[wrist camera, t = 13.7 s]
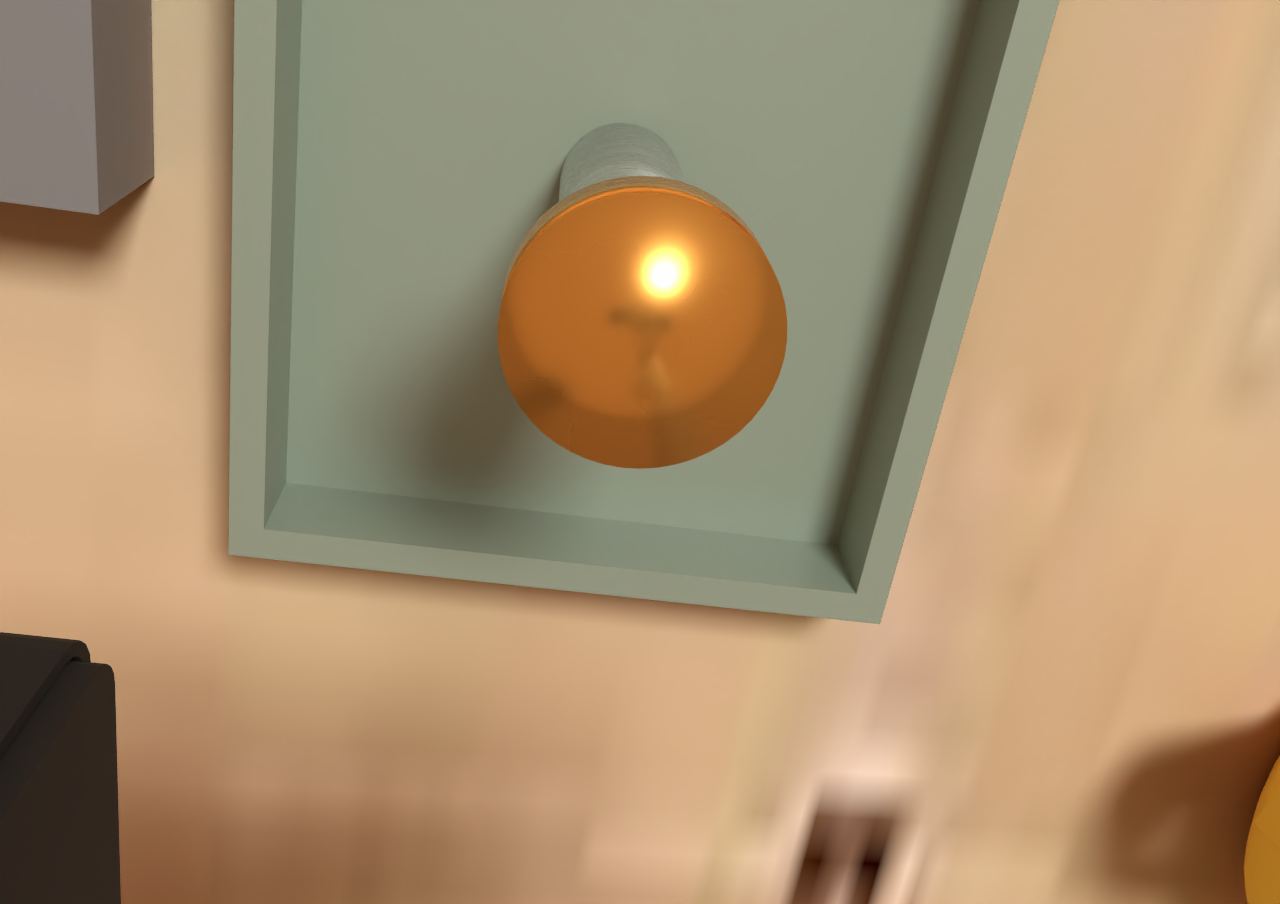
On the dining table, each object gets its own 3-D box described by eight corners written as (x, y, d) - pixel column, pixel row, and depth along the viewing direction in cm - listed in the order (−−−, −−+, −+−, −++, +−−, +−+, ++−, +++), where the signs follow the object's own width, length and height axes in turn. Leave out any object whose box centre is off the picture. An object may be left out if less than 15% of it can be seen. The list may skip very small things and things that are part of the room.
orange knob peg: (733, 101, 27) (815, 216, 17) (698, 289, 28) (756, 484, 19) (536, 71, 26) (514, 173, 17) (514, 264, 28) (483, 451, 19)
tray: (1066, -222, 25) (1126, -235, 22) (854, 562, 33) (879, 623, 30) (278, -373, 23) (238, -407, 20) (258, 495, 31) (228, 555, 28)
